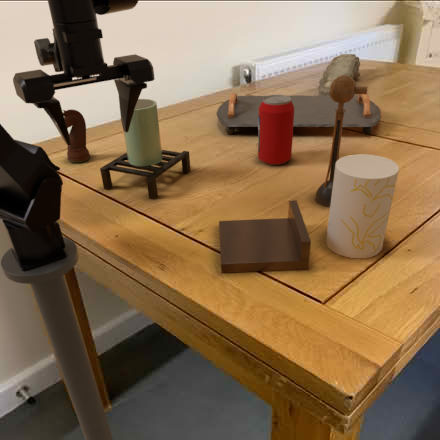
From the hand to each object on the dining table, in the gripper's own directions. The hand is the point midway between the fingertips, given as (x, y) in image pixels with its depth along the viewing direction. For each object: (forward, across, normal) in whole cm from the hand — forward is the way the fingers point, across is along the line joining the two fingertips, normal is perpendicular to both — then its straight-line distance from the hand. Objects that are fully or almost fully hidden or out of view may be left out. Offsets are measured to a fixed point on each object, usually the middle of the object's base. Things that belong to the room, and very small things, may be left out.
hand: (97, 138), depth 71 cm
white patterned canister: (+13, -26, +30) cm, 42 cm away
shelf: (+13, -14, +23) cm, 30 cm away
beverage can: (+13, -36, -2) cm, 38 cm away
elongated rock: (+8, -85, -35) cm, 92 cm away
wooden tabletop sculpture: (+13, -33, +18) cm, 40 cm away
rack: (+13, -11, -9) cm, 19 cm away
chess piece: (+8, -4, -27) cm, 29 cm away
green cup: (+9, -11, -9) cm, 17 cm away
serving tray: (+13, -55, -18) cm, 60 cm away
